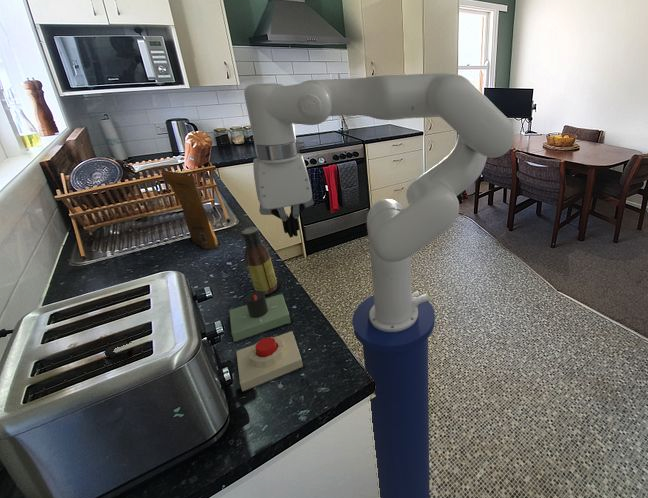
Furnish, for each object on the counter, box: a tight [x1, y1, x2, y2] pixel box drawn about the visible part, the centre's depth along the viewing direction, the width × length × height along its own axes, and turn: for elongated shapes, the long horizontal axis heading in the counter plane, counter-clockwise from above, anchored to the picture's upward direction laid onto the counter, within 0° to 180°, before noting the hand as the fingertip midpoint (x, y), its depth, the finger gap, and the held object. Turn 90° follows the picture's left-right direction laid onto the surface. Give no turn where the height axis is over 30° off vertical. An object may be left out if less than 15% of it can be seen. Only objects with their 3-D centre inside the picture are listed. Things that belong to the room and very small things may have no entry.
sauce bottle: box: [241, 226, 278, 296], centre depth 97 cm, size 7×6×20 cm
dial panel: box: [228, 293, 291, 342], centre depth 89 cm, size 13×10×3 cm
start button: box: [255, 336, 277, 357], centre depth 75 cm, size 4×4×2 cm
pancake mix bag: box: [160, 169, 219, 250], centre depth 122 cm, size 7×19×28 cm, turn 55°
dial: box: [244, 290, 268, 318], centre depth 87 cm, size 4×4×5 cm
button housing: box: [235, 330, 304, 392], centre depth 76 cm, size 12×10×4 cm
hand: (292, 234), depth 75 cm, fingers closed
